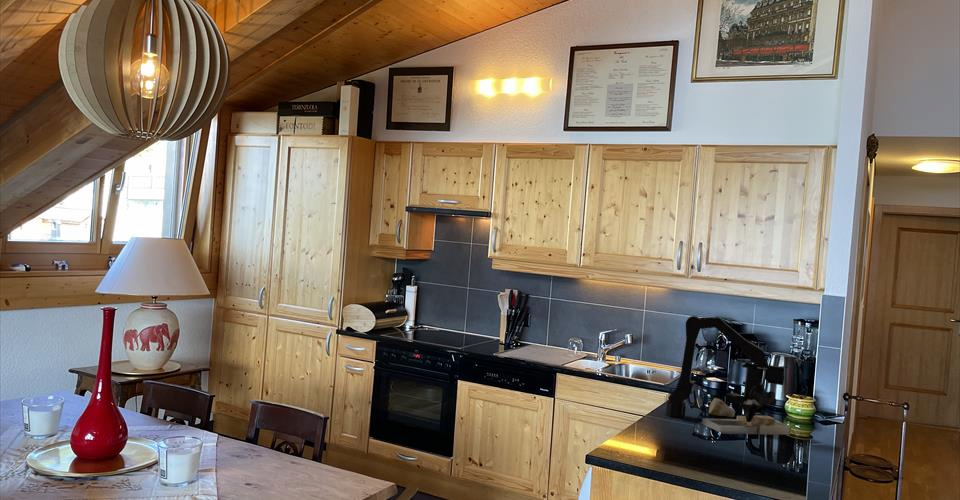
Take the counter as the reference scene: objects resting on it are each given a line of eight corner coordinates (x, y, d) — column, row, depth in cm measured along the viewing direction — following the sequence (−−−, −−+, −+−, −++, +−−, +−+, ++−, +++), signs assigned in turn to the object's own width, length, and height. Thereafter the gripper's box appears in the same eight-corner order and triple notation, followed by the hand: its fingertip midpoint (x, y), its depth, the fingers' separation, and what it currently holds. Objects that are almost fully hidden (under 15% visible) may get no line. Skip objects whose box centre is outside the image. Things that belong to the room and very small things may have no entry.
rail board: (722, 435, 270) (723, 425, 270) (699, 424, 284) (700, 414, 283) (790, 436, 280) (791, 426, 280) (764, 425, 293) (765, 416, 293)
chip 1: (754, 430, 280) (755, 418, 280) (746, 427, 285) (747, 415, 285) (764, 430, 282) (765, 418, 282) (756, 427, 286) (757, 415, 286)
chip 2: (764, 430, 282) (765, 418, 282) (756, 427, 286) (757, 415, 286) (774, 430, 283) (775, 419, 283) (766, 427, 288) (767, 415, 287)
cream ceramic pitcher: (737, 421, 298) (729, 399, 296) (713, 427, 301) (704, 405, 299) (736, 412, 305) (727, 391, 303) (712, 419, 308) (703, 397, 306)
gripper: (746, 384, 271) (741, 427, 271) (789, 386, 277) (783, 428, 277) (727, 377, 282) (722, 419, 282) (768, 380, 288) (763, 420, 288)
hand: (748, 422), depth 282 cm, fingers closed
